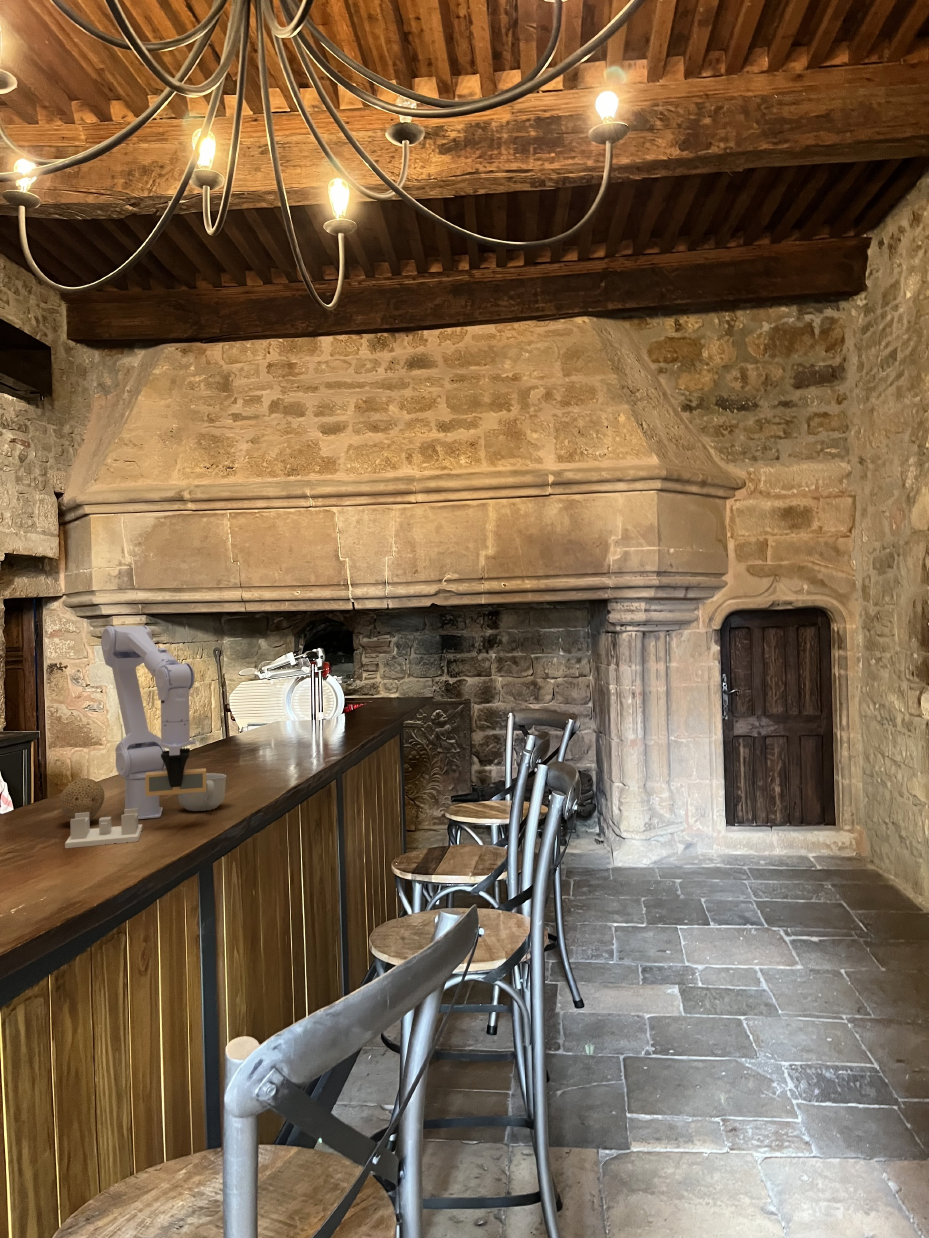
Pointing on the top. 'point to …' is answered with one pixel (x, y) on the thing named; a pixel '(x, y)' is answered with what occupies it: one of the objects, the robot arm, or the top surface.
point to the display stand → (103, 830)
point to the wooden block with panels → (160, 786)
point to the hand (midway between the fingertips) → (176, 785)
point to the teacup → (205, 794)
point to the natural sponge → (82, 798)
